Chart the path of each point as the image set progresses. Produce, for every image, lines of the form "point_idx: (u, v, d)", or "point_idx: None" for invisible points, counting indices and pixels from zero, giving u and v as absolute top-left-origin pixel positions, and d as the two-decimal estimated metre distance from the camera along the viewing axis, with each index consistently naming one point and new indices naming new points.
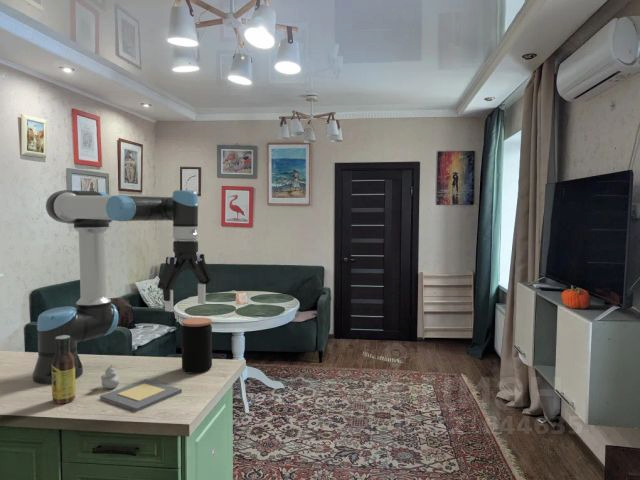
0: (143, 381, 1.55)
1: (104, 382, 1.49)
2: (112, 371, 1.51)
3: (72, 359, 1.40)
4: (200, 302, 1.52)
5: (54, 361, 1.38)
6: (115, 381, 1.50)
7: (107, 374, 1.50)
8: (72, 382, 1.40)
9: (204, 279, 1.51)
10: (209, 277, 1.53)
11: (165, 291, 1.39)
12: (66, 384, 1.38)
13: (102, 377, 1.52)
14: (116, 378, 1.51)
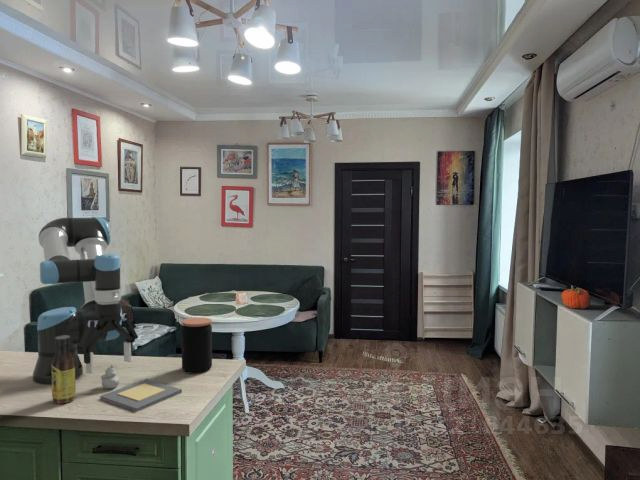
0: (143, 381, 1.55)
1: (104, 382, 1.49)
2: (112, 371, 1.51)
3: (72, 359, 1.40)
4: (126, 360, 1.57)
5: (54, 361, 1.38)
6: (115, 381, 1.50)
7: (107, 374, 1.50)
8: (72, 382, 1.40)
9: (129, 338, 1.56)
10: (135, 335, 1.58)
11: (85, 354, 1.44)
12: (66, 384, 1.38)
13: (102, 377, 1.52)
14: (116, 378, 1.51)
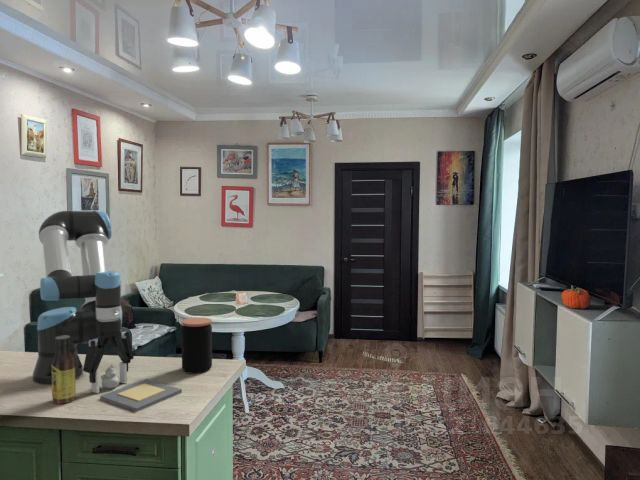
0: (143, 381, 1.55)
1: (104, 382, 1.49)
2: (112, 371, 1.51)
3: (72, 359, 1.40)
4: (121, 381, 1.56)
5: (54, 361, 1.38)
6: (115, 381, 1.50)
7: (107, 374, 1.50)
8: (72, 382, 1.40)
9: (125, 358, 1.55)
10: (131, 355, 1.57)
11: (91, 374, 1.46)
12: (66, 384, 1.38)
13: (102, 377, 1.52)
14: (116, 378, 1.51)
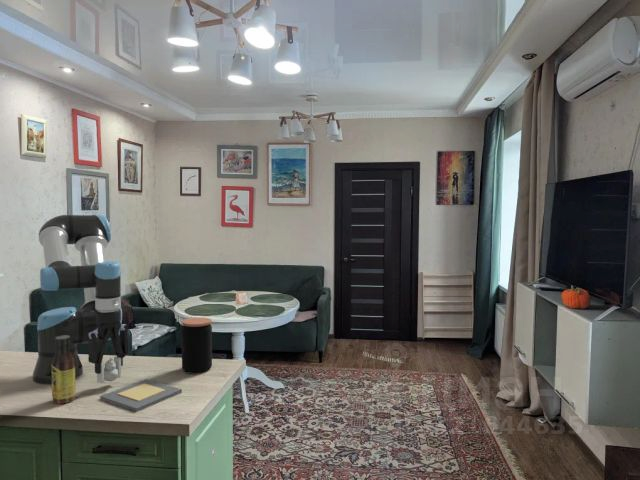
0: (143, 381, 1.55)
1: None
2: (112, 364, 1.51)
3: (72, 359, 1.40)
4: None
5: (54, 361, 1.38)
6: (114, 374, 1.50)
7: (106, 367, 1.50)
8: (72, 382, 1.40)
9: (121, 352, 1.54)
10: (126, 349, 1.56)
11: (96, 365, 1.48)
12: (66, 384, 1.38)
13: None
14: (115, 371, 1.51)
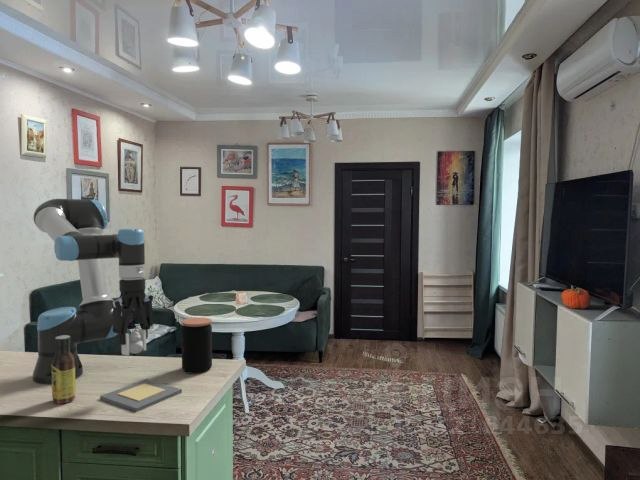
0: (143, 381, 1.55)
1: None
2: (137, 335, 1.44)
3: (72, 359, 1.40)
4: None
5: (54, 361, 1.38)
6: (139, 345, 1.44)
7: (131, 338, 1.44)
8: (72, 382, 1.40)
9: (145, 323, 1.48)
10: (151, 321, 1.49)
11: (121, 335, 1.41)
12: (66, 384, 1.38)
13: None
14: (140, 342, 1.45)
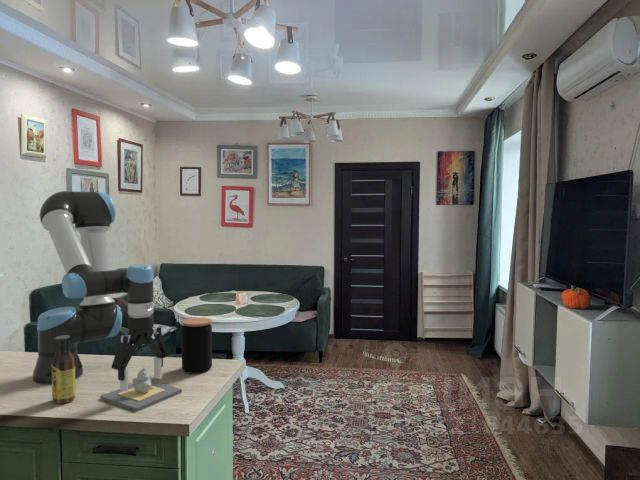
0: None
1: (136, 386, 1.43)
2: (145, 374, 1.44)
3: (72, 359, 1.40)
4: (156, 376, 1.50)
5: (54, 361, 1.38)
6: (148, 384, 1.44)
7: (139, 377, 1.44)
8: (73, 382, 1.40)
9: (160, 353, 1.50)
10: (166, 350, 1.52)
11: (119, 371, 1.38)
12: (66, 384, 1.38)
13: (134, 380, 1.45)
14: (149, 382, 1.45)
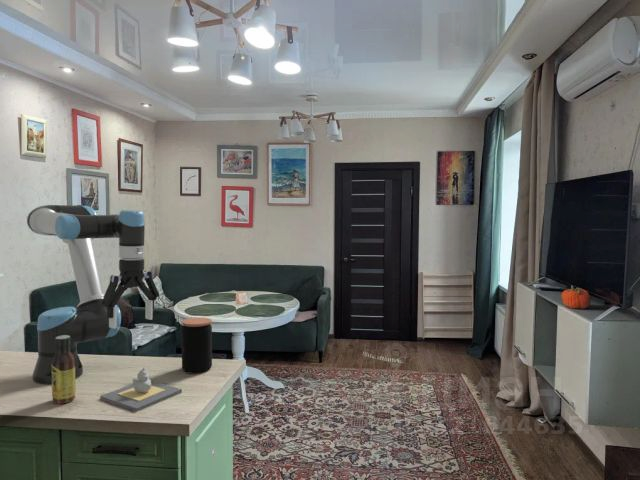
0: None
1: (136, 386, 1.43)
2: (145, 374, 1.44)
3: (72, 359, 1.40)
4: (147, 317, 1.57)
5: (54, 361, 1.38)
6: (148, 384, 1.44)
7: (139, 377, 1.44)
8: (73, 382, 1.40)
9: (151, 295, 1.56)
10: (157, 293, 1.58)
11: (108, 309, 1.43)
12: (66, 384, 1.38)
13: (134, 380, 1.45)
14: (149, 382, 1.45)
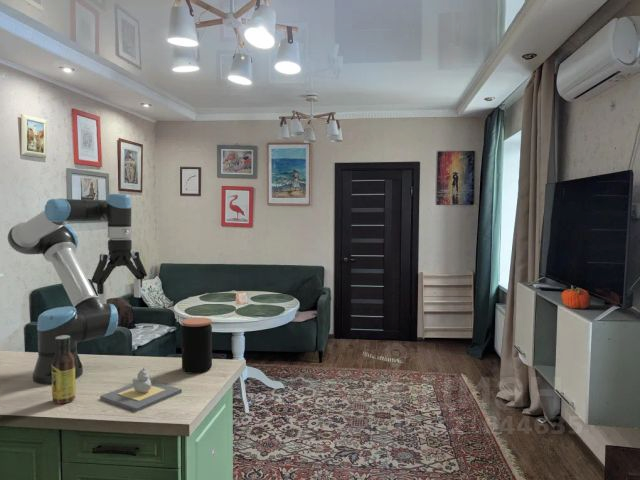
0: None
1: (136, 386, 1.43)
2: (145, 374, 1.44)
3: (72, 359, 1.40)
4: (136, 296, 1.67)
5: (54, 361, 1.38)
6: (148, 384, 1.44)
7: (139, 377, 1.44)
8: (73, 382, 1.40)
9: (139, 275, 1.66)
10: (144, 273, 1.68)
11: (98, 285, 1.53)
12: (66, 384, 1.38)
13: (134, 381, 1.45)
14: (149, 382, 1.45)
